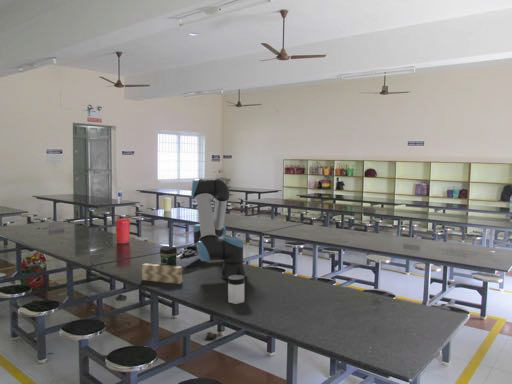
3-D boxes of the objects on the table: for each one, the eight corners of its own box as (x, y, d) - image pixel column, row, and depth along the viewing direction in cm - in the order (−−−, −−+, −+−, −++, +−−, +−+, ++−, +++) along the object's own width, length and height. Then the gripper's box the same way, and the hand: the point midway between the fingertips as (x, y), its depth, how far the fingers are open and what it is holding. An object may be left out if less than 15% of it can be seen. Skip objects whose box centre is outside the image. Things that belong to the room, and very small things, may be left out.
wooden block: (182, 282, 231) (182, 266, 230) (179, 283, 228) (179, 268, 227) (145, 278, 238) (144, 263, 237) (142, 279, 235) (141, 264, 234)
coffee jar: (179, 277, 240) (179, 246, 239) (170, 280, 234) (169, 248, 232) (167, 274, 245) (167, 244, 244) (158, 278, 239) (157, 246, 237)
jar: (224, 301, 201) (224, 277, 200) (233, 296, 208) (233, 273, 207) (239, 305, 196) (239, 280, 195) (248, 299, 203) (248, 276, 202)
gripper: (202, 256, 271) (186, 265, 248) (184, 255, 275) (167, 264, 252) (202, 245, 270) (186, 253, 248) (184, 244, 274) (166, 252, 251)
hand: (176, 259), depth 250 cm, fingers closed
